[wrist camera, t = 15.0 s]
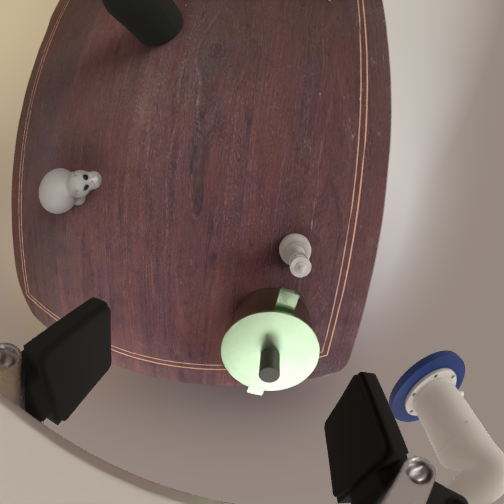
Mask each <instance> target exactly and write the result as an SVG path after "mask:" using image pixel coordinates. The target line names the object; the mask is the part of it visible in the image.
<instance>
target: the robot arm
mask: <svg viewBox="0 0 504 504" xmlns="http://www.w3.org/2000/svg"><path fill="white" fill-rule="evenodd" d="M110 318H111V311H110V308H109V307H108V305H107V303H106V302H104V301H102V300H100V299H97V298H95V297H93V298H91V299H89V300H88V301H86V302H85V303H83V304H82V305H80V306H79V307H77V308H76V309H74V310H73V311H72V312H70V313H69V314H67V315H66V316H64V317H63V318H61V319H60V320H59V321H57V322H56V323H54V324H53V325H52V326H50V327H49V328H47V329H46V330H45V331H43V332H42V333H40V334H39V335H38V336H36V337H35V338H33V339H32V340H31V341H29V342H28V343H27V344H25V345H24V350H23V351H22V352H20V350H19V348H17V347H16V346H15V345H13V344H10V343H0V504H232V503H226V502H222V501H217V500H212V499H208V498H204V497H200V496H196V495H192V494H189V493H185V492H182V491H179V490H175V489H172V488H169V487H166V486H163V485H160V484H157V483H154V482H152V481H149V480H147V479H144V478H142V477H139V476H137V475H134V474H132V473H129V472H127V471H125V470H123V469H120V468H118V467H116V466H114V465H112V464H110V463H108V462H106V461H104V460H102V459H100V458H98V457H96V456H94V455H92V454H90V453H88V452H87V451H85V450H83V449H82V448H80V447H78V446H76V445H74V444H73V443H71V442H70V441H68V440H67V439H65V438H63V437H62V436H60V435H59V434H57V433H56V432H54V431H53V430H51V429H50V428H48V427H47V426H45V425H44V422H43V421H44V420H45V419H46V418H48V419H49V420H51V421H52V422H54V423H55V424H57V425H58V424H59V423H60V422H61V421H62V420H63V421H65V420H67V419H68V418H69V416H70V415H71V414H72V412H73V411H74V410H75V409H76V408H77V406H78V405H79V404H80V403H81V402H82V400H83V399H84V398H85V397H86V396H87V394H88V393H89V392H90V391H91V390H92V388H93V387H94V386H95V385H96V384H97V382H98V381H99V380H100V379H101V378H102V376H103V375H104V374H105V373H106V372H107V371H108V369H109V368H110V366H111V330H110ZM456 381H457V377H456V374H455V373H454V371H452V370H451V369H449V368H441V369H438V370H435V371H433V372H431V373H429V374H427V375H426V376H424V377H423V378H422V379H420V380H419V381H418V382H417V383H416V384H415V385H414V386H413V387H412V389H411V390H410V392H409V393H408V395H407V397H406V400H405V409H406V411H407V412H408V413H409V414H410V415H414V416H418V418H419V420H420V422H421V423H422V425H423V428H424V430H425V432H426V434H427V436H428V438H429V440H430V442H431V444H432V447H433V449H434V451H435V453H436V455H437V457H438V460H439V462H440V463H441V465H442V466H444V467H445V468H447V469H450V470H456V471H462V473H461V474H460V475H459V476H458V477H457V478H455V479H454V480H453V481H451V482H450V483H448V484H447V485H445V486H443V485H441V484H439V483H437V482H435V477H436V472H435V469H434V466H433V465H432V464H431V463H430V462H429V461H428V460H426V459H425V458H422V457H417V456H415V457H410V458H409V459H408V458H407V456H406V455H407V453H408V450H407V447H406V445H405V442H404V440H403V437H402V435H401V433H400V430H399V427H398V425H397V422H396V420H395V418H394V415H393V413H392V411H391V408H390V406H389V404H388V402H387V399H386V397H385V395H384V392H383V390H382V388H381V386H380V383H379V381H378V379H377V377H376V375H375V374H373V373H366V372H360V373H359V374H358V375H354V376H353V378H352V380H351V381H350V383H349V385H348V387H347V389H346V390H345V392H344V393H343V395H342V397H341V398H340V400H339V402H338V403H337V405H336V406H335V408H334V409H333V411H332V412H331V414H330V416H329V417H328V419H327V420H326V422H325V427H324V428H325V436H326V443H327V450H328V457H329V464H330V471H331V480H332V489H333V495H334V496H335V497H337V501H338V503H351V504H492V503H493V502H495V501H496V500H497V499H498V498H500V496H502V495H503V494H504V453H503V452H502V451H501V450H500V449H499V448H498V446H497V445H496V444H495V443H494V442H493V440H492V439H491V437H490V436H489V434H488V433H487V432H486V430H485V429H484V427H483V426H482V424H481V423H480V421H479V420H478V418H477V417H476V415H475V414H474V412H473V411H472V409H471V408H470V406H469V405H468V403H467V402H466V401H465V399H464V398H463V396H464V392H463V391H458V389H457V388H456V387H455V385H456ZM503 504H504V503H503Z"/></svg>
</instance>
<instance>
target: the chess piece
mask: <svg viewBox="0 0 504 504" xmlns="http://www.w3.org/2000/svg"><path fill="white" fill-rule="evenodd" d="M279 252H280V256H281V258H282V260H283V261H284V262H285V263H286V264H288V265H290V271H291V273H292V274H293V275H294V276H296V277H304V276H306V275H308V274H309V272H310V270H311V263H310V261H309V258H310V255H311V246H310V243H309V241H308V240H307V238H306V237H304V236H303V235H301V234H297V233H293V234H289V235H287V236H286V237H284V238H283V240H282V241H281V243H280V246H279Z"/></svg>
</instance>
